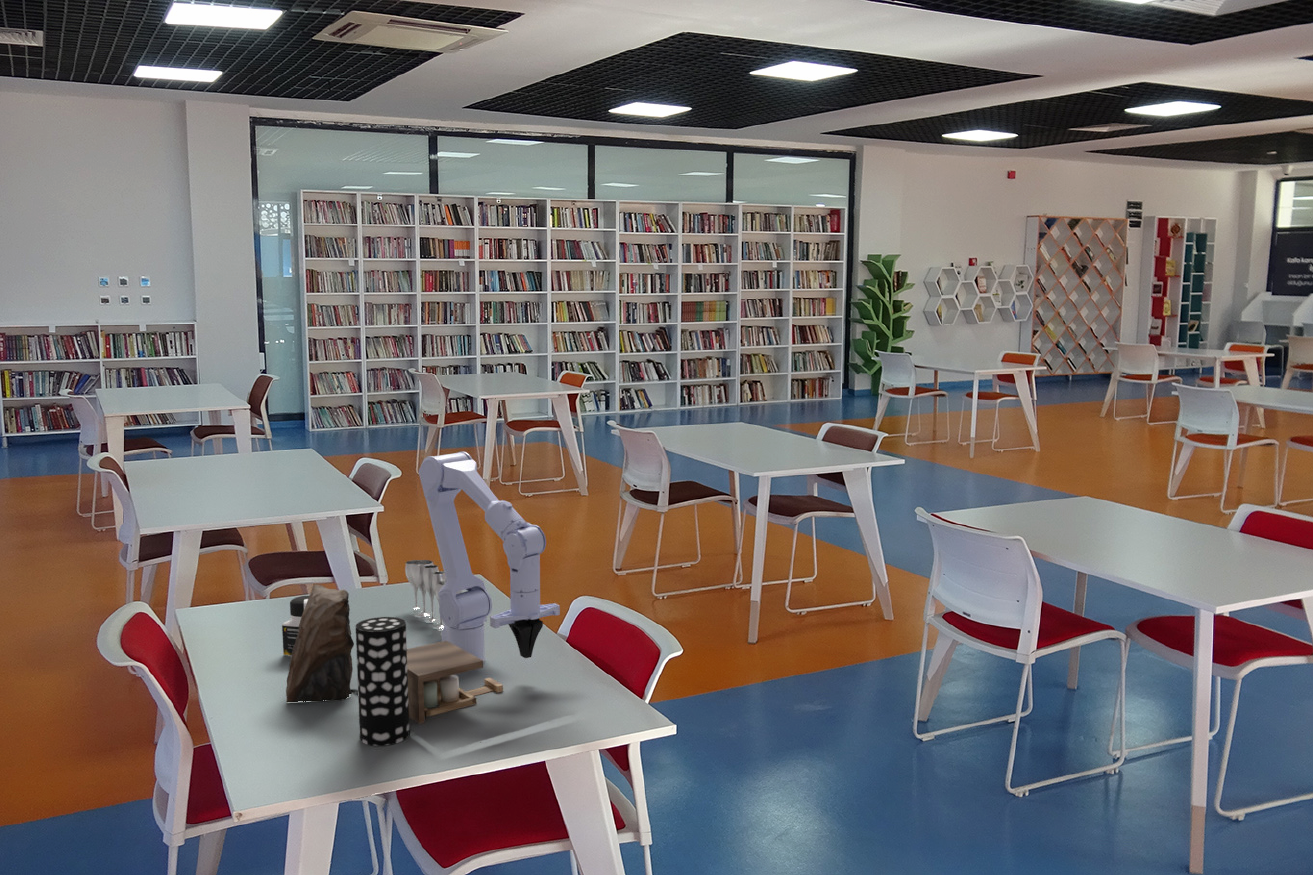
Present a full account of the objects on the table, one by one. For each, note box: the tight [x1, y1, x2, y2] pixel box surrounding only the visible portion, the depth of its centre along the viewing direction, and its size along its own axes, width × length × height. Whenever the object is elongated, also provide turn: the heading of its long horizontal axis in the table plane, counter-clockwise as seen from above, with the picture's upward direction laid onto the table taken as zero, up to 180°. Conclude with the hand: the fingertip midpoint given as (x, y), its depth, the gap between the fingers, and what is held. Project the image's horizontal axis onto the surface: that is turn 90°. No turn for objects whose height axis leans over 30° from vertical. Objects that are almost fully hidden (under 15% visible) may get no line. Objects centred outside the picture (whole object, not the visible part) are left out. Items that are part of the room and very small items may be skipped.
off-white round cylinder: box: [440, 674, 460, 702], centre depth 196 cm, size 3×3×4 cm
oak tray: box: [424, 677, 504, 718], centre depth 197 cm, size 10×17×2 cm, turn 128°
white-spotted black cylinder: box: [355, 616, 410, 747], centre depth 181 cm, size 8×8×20 cm
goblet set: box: [404, 559, 463, 636], centre depth 247 cm, size 28×6×13 cm, turn 32°
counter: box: [407, 640, 484, 725], centre depth 194 cm, size 14×13×10 cm
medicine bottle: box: [281, 595, 309, 657], centre depth 225 cm, size 7×7×12 cm
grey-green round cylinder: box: [423, 681, 438, 709], centre depth 193 cm, size 3×3×4 cm
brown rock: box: [285, 583, 355, 702], centre depth 202 cm, size 13×13×20 cm
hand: (525, 656), depth 206 cm, fingers closed
